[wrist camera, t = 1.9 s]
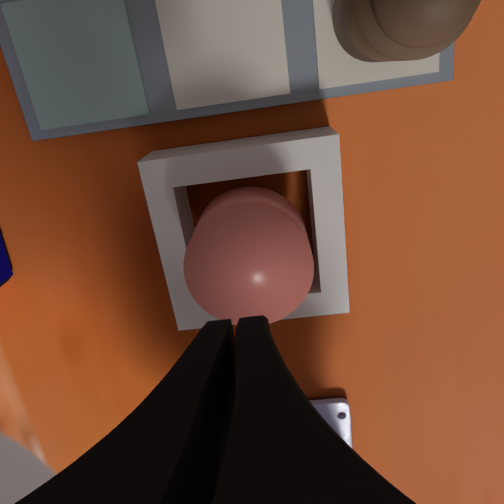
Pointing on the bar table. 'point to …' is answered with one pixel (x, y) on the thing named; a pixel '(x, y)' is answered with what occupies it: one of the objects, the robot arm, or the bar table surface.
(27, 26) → the board
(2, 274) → the puzzle cube
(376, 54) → the pawn
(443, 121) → the bar table surface
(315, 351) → the bar table surface
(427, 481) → the bar table surface
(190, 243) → the button
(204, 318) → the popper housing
